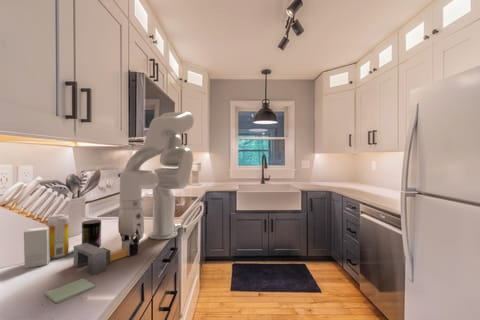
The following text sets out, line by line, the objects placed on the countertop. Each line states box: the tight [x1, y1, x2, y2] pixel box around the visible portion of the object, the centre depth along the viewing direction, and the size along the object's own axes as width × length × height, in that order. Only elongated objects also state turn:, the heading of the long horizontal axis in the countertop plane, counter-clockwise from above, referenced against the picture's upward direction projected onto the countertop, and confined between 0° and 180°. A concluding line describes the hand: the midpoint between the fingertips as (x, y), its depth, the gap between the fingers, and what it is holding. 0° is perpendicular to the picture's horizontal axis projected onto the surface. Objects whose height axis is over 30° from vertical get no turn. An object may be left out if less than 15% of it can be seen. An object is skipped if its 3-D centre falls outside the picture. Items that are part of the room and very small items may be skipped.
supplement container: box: [81, 219, 102, 248], centre depth 96 cm, size 7×7×10 cm
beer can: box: [47, 212, 70, 260], centre depth 87 cm, size 6×6×15 cm
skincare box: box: [23, 226, 51, 269], centre depth 80 cm, size 6×4×12 cm
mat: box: [44, 278, 96, 304], centre depth 64 cm, size 9×7×1 cm
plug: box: [100, 239, 131, 265], centre depth 85 cm, size 14×4×5 cm, turn 147°
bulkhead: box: [72, 243, 107, 276], centre depth 78 cm, size 4×13×6 cm, turn 57°
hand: (130, 252), depth 90 cm, fingers closed on plug, 4 cm apart
